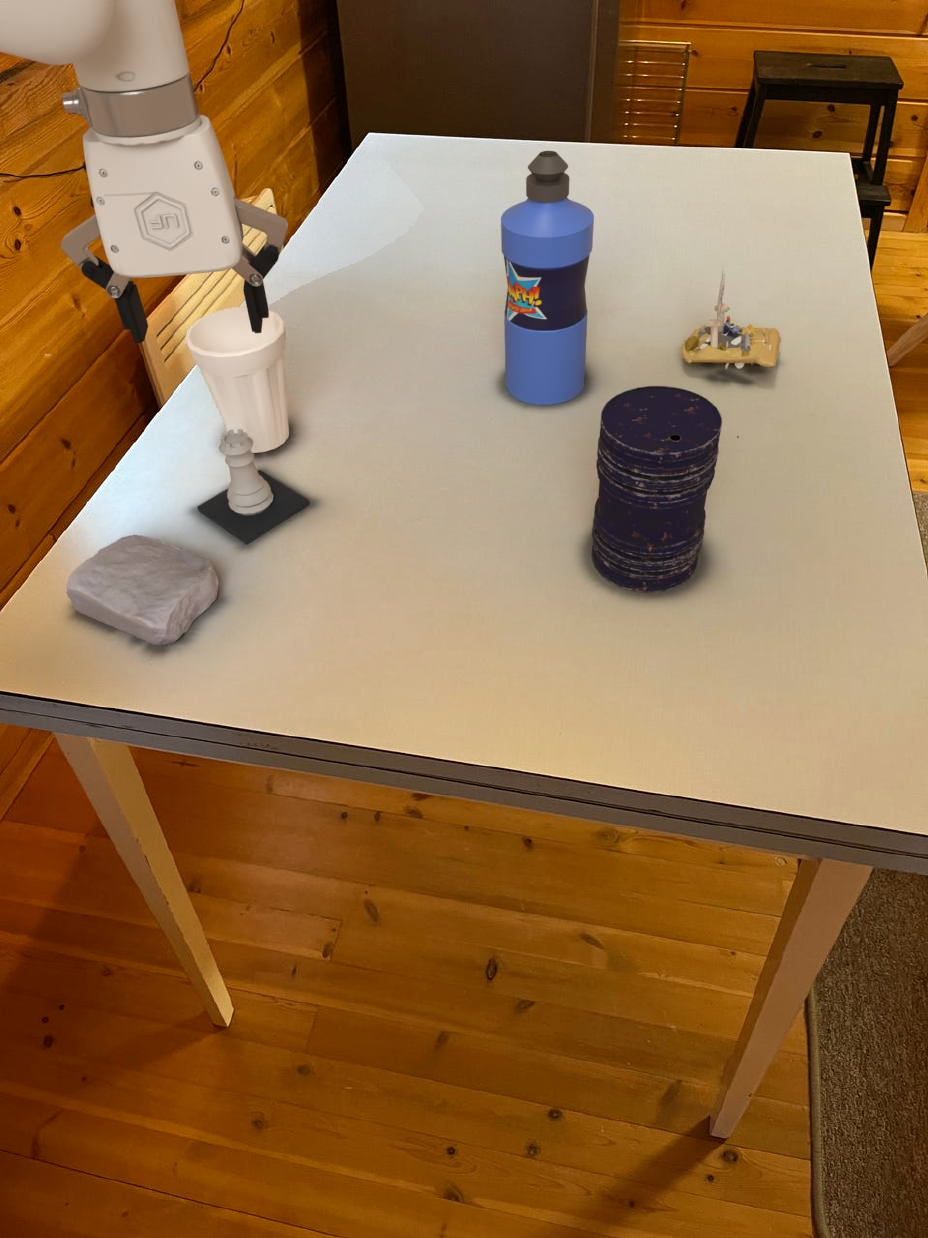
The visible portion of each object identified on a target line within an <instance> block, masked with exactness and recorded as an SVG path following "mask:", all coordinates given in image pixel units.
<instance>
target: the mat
mask: <svg viewBox="0 0 928 1238" xmlns="http://www.w3.org/2000/svg"><path fill="white" fill-rule="evenodd" d="M257 471H258V473H259V475H260V476H262V477H263V479H264V480H265V481H267V483H268V484H269V486H270V488H271V492H272V494H273V501H272V503H271V504H270V506H269V507H268V508H267V509H266V510H265V511H263V512H261V513H259V514H256V515H248V516H246V515H241V514H238V513H237V512H235V511H234V510H232V509H231V508H230V506H229V500H228V497H227V493H228V488H226V489H225V490H223V491H221V492H219V493H217V494H216V495H214V496H213V497H211V498H210V499H208V500H206V501H205V502H202V503H200V504H199V505H197V511H198V512H199V513H200V514H201V515H204V516H205V517H206V518H207V519H209V520H211V521H212V522H213V523H215V524H216V525H217V526H219V527H221V528H222V529H223V530H225V531H226V532H228V533H229V534H231V535H232V536H233V537H235V538H236V539H238V540H239V541H241V542H242V543H244V544H245V545H249V544H250V543H252V542H254V541H255V540H256V539H258V538H260V537H261V536H263V535H264V534H265V533H267V532H269V531H271V530H272V529H273V528H275V527H277V526H278V525H280V524H282V523H283V522H285V521H286V520H288V519H289V518H291V517H293V516H294V515H295V514H297V513H298V512H300V511H302V510H303V509H305V508H307V507H308V506H310V500H309V499H308V498H307V497H304V496H303V495H302V494H300V493H298V492H297V491H295V490H293V489H292V488H290V487H289V486H287V485H285V484H284V483H282V482H281V481H279V480H278V479H276V478H275V477H272V476H271V475H269V474H267V473H266V472H265V471H264V470H262V469H257Z"/></svg>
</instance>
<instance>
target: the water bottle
mask: <svg viewBox="0 0 928 1238" xmlns="http://www.w3.org/2000/svg"><path fill="white" fill-rule="evenodd" d="M568 168H569V165H568V163H567V162H566V161H565V160H564V159H563V157H561V155H560V154H558V152H557V151H554V150H543V151H540V152H539V153H538V154H537V155H536V156H535V157H534V159H533V160H532V161H531V162H530V163H529V164H528V165H527V170H528V171H529V172H530V173H529V174H528V175H527V176H526V177H525V196H526V197H527V198H526V199H525V200H523V201H521V202H519V203H516V204H514V205H512V206H510V207H509V208H507V209H506V210H504V211H503V212H502V214H501V217H500V245H501V254H502V255H503V261H504V268H505V276H506V284H507V291H506V297H505V298H506V299H505V308H504V312H503V313H504V314H503V316H504V317H503V319H504V322H503V323H504V372H505V373H504V374H505V375H504V376H505V389H506V391H507V393H508V394H509V395H510V396H512V397H513V398H514V399H516V400H518V401H520V402H523V403H526V404H530V405H535V406H553V405H558V404H562V403H565V402H568V401H571V400H573V399H574V398H576V397H578V396H579V395H580V393H582V391H583V389H584V387H585V378H586V377H585V375H586V357H587V355H586V354H587V335H588V313H589V312H588V308H587V307H588V306H587V305H588V304H587V297H586V296H587V294H586V281H587V275H588V274H587V273H588V269H589V262H590V256H591V253H592V251H593V247H594V245H593V244H594V243H593V242H594V227H595V225H594V223H595V222H594V221H595V215H594V213H593V211H592V210H591V209H590V208H589V207H587V206H586V205H584V204H582V203H579V202H577V201H574V200H572V199H569V195H570V175H569V174H567V173H566V171H567V169H568Z"/></svg>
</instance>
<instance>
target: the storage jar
mask: <svg viewBox="0 0 928 1238" xmlns="http://www.w3.org/2000/svg"><path fill="white" fill-rule="evenodd" d="M599 423H600V425H599V437H598V439H597V452H596V456H597V458H596V464H595V465H596V466H595V468H596V474H597V478H598V480H599V481H598V495H597V499H596V501H595V503H594V504H595V505H594V511H593V519H592V528H591V537H592V545H591V560H592V563H593V566H594V568H595V570H596V571H597V572H598V574H600V575H601V577H602V578H604V579H605V580H606V581H608V582H609V583H610V584H612V585H614V586H616V587H619V588H621V589H624V590H627V591H630V592H637V593H645V594H646V593H648V594H650V593H662V592H666V591H671V590H673V589H675V588H678V587H680V586H682V585H683V584H685V583H686V582H688V580H689V579H691V577H692V576H693V575H694V574H695V573H696V570H697V567H698V562H699V555H700V550H701V548H702V546H703V542H704V536H705V526H706V517H707V514H706V509H705V508H706V501H707V495H708V490H709V489H710V487H711V485H712V483H713V481H714V478H715V474H716V467H717V462H718V457H719V452H720V451H719V445H720V444H719V443H720V437H721V431H722V426H723V417H722V414H721V412H720V410H719V409H718V407H717V406H716V405H715V404H714V403H713V402H712V401H710V400H709V399H708V398H706V397H704V396H703V395H701V394H699V393H696V392H694V391H691V390H688V389H684V388H680V387H675V386H670V385H669V386H668V385H646V386H639V387H633V388H630V389H627V390H624V391H622V392H620V393H618V394H616V395H614V396H613V397H612V398H610V399H609V400H607V402H606V403H605V404H604V406H603V408H602V410H601V413H600V422H599Z"/></svg>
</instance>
